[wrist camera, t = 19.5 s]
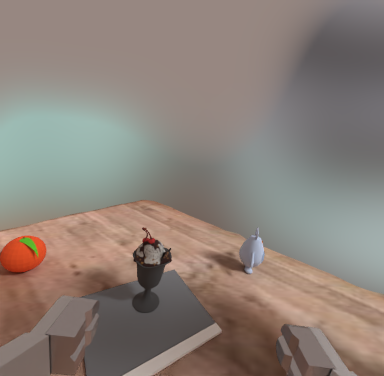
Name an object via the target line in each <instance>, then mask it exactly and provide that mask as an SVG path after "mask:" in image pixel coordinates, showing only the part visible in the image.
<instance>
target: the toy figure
mask: <svg viewBox="0 0 384 376" xmlns="http://www.w3.org/2000/svg"><path fill="white" fill-rule="evenodd" d="M258 235H259V231H258V228H257V229H256V233H255V235H252V236H250V237H249V238H247V240H246V241H245V242H244V243H243V245H242V246H241V248H240V252H239V255H240V259H241V261H242V262H243V263H244V264H245V272H246V273H248V274H251V273H252V269H251V268H252V267H256V266H258V265H259V264H261V263H262V261H263V259H264V249H263V241H262V240H261V238H260V237H258Z"/></svg>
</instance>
